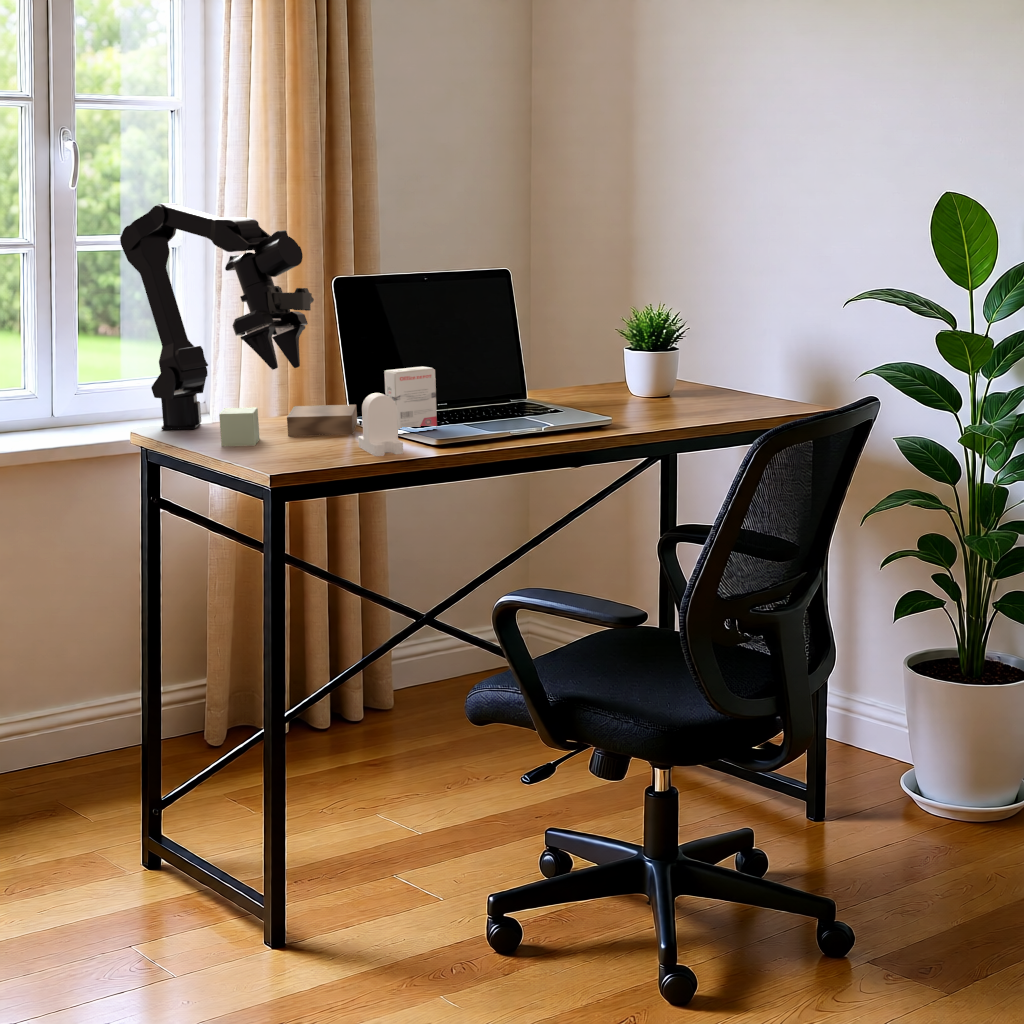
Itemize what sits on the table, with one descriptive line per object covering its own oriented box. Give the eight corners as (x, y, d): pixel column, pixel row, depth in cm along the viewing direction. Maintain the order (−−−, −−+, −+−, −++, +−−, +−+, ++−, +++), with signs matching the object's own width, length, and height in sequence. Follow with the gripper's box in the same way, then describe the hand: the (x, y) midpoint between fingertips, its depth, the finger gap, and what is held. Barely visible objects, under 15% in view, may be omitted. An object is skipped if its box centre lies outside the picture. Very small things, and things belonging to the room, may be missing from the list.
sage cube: (221, 446, 251) (219, 413, 249) (226, 440, 256) (224, 408, 255) (255, 445, 251) (252, 413, 249) (259, 439, 257) (257, 407, 255)
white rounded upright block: (375, 456, 239) (372, 399, 237) (357, 446, 248) (355, 391, 246) (404, 453, 241) (402, 396, 239) (386, 443, 250) (383, 388, 248)
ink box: (426, 426, 266) (424, 364, 263) (438, 430, 261) (436, 367, 259) (385, 431, 261) (383, 369, 258) (397, 435, 257) (394, 372, 254)
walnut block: (288, 438, 259) (286, 417, 258) (295, 426, 270) (294, 406, 269) (352, 436, 259) (351, 415, 258) (357, 424, 271) (356, 404, 270)
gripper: (273, 268, 239) (303, 354, 240) (317, 272, 257) (345, 352, 257) (218, 290, 243) (248, 375, 243) (266, 293, 260) (293, 372, 261)
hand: (286, 368), depth 251 cm, fingers open, 9 cm apart
